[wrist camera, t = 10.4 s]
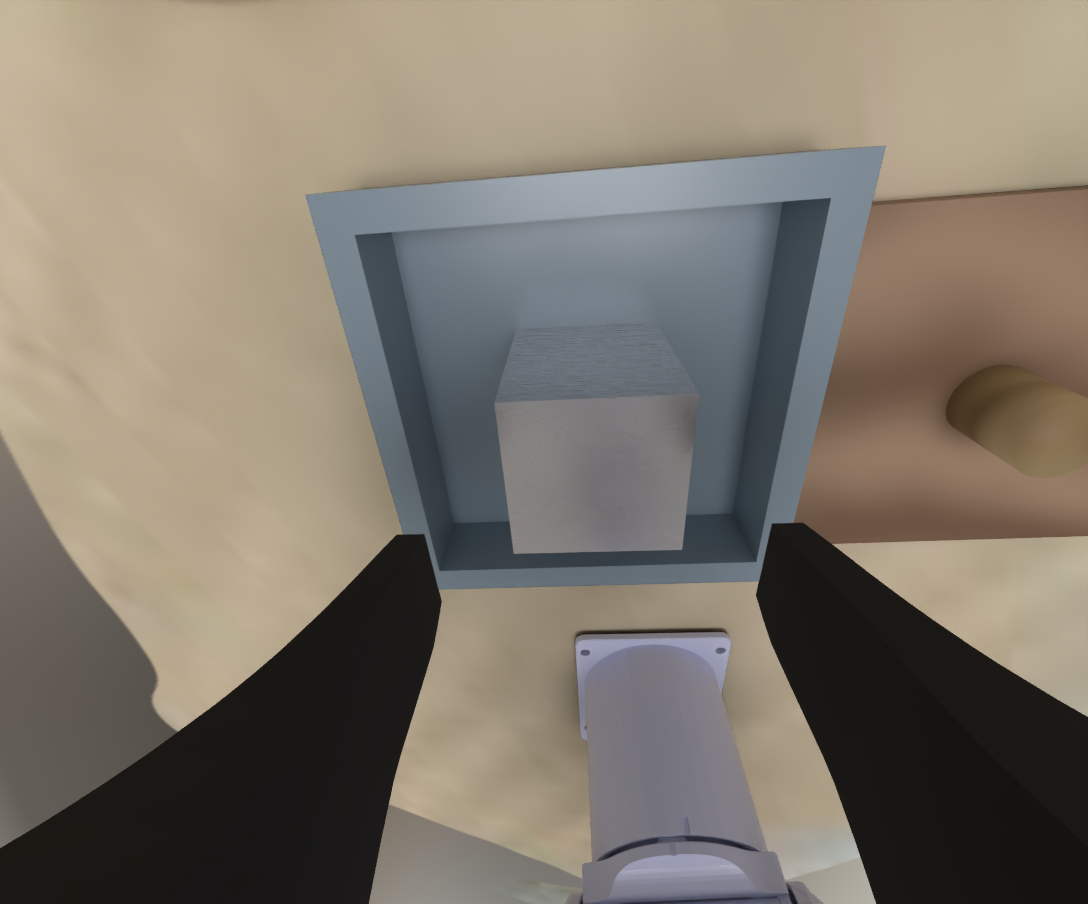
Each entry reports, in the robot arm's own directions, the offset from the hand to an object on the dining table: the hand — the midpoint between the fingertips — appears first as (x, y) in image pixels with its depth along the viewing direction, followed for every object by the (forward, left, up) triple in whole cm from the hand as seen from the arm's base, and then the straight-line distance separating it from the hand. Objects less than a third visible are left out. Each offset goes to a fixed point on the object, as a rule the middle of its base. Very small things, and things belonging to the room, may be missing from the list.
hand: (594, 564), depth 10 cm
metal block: (0, 0, -9) cm, 9 cm away
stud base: (-1, -14, -9) cm, 17 cm away
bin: (0, 0, -9) cm, 9 cm away
